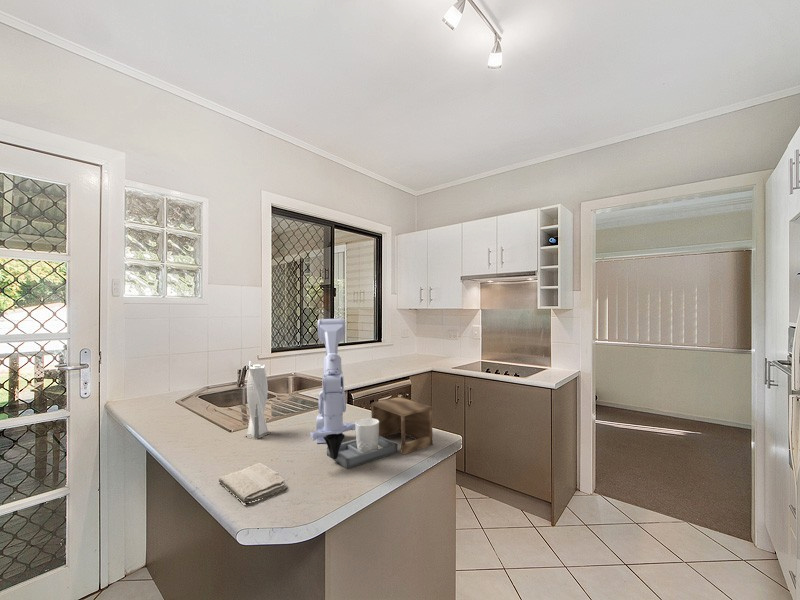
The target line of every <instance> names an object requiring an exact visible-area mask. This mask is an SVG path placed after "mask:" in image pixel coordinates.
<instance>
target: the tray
mask: <svg viewBox="0 0 800 600" xmlns="http://www.w3.org/2000/svg"><path fill="white" fill-rule="evenodd" d="M378 447H379V448H378V449H376V450H373V451H370V452H367V453H363V452H361V451H360V450H358V449H357V441H356V438H355V439H352V440H348V441H345V442H344V441H343V442H342V443H341V445H340V448H339V451H338V456H337V459H332V458H331V457H330V452H329V449H328V446H327V447H326V454H327V457H329V458H331V459H332V460H334V461H335V462H336V463H338V465H340V466H342V467H344V468H345V469H347V470H349V469H352V468H355V467H358V466H360V465H361V466H362V465H363V464H367V463H370V462H373V461H376V460H378V459H382V458H384V457H388V456H391V455H394V454H397V453H399V444H398V443H395V442H394V441H392V440H389V439H387V438H385V437H381V436H379V442H378Z"/></svg>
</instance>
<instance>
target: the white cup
mask: <svg viewBox="0 0 800 600" xmlns="http://www.w3.org/2000/svg"><path fill="white" fill-rule="evenodd" d="M354 424H355V439H356V441H357V449H358V450H360V451H361V452H363V453H367V452H370V451H373V450H376V449H379V445H378V442H379V420H377V419H374V418H372V417H365V418H360V419H357V420H356V421H355V423H354Z"/></svg>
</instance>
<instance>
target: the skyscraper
mask: <svg viewBox="0 0 800 600" xmlns="http://www.w3.org/2000/svg"><path fill="white" fill-rule="evenodd" d="M265 367H266V364H263V365H262V364H253V365H252V360H249V363H248V376H247V380H246V381H247V383H246V400H247V406H248V412H249V415H250V416H249V421H248V426H247V427H248V428H247V433H246V434H250V435H246V434H245V435H246V436H248V437H251V438H255V439H254V440H256V439H257V438H259V439H261V438H260V437H262V438H263V436H264V437H266V436H268V435H267V434H269V435H271V434H272V432H270V431H269V430H268V426H267V421H266V417H265V411H266V406H267V401H268V394H269V388H268V386H269V385H268V378H267V372H266V368H265ZM270 433H271V434H270ZM265 435H266V436H265ZM251 438H250V439H251ZM257 440H258V439H257Z"/></svg>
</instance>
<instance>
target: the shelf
mask: <svg viewBox="0 0 800 600" xmlns="http://www.w3.org/2000/svg"><path fill="white" fill-rule="evenodd" d="M370 413H371V418H374V419H377V420H379V436H381V437H384V438H385V437H387V436H388V437H389V436H391V435H395V434H399V433H401V435H400V436H401V444H400V454H401V455H406V454H409V453H412V452H415V451H418V450H421V449H424V448H428V447H429V446H430V447H431V446H433V444H434V443H433V437H434V436H433V435H434V434H433V406H431V405H428V404H424V403H421V402H417V401H414V400H411V399H408V398H405V397H402V396H398V397H393V398H388V399H383V400H379V401H374V402H371V412H370ZM406 436H408V437H409V438H412V439H413V440H410V441H407V442H406Z"/></svg>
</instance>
